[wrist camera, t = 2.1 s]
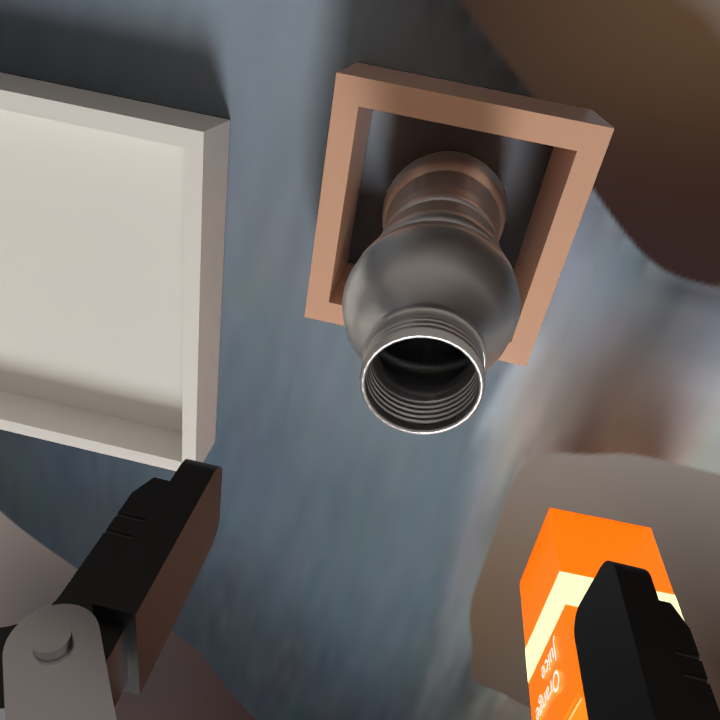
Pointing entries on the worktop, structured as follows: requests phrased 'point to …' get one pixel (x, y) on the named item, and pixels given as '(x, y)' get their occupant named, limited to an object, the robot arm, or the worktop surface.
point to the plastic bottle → (433, 295)
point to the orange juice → (573, 600)
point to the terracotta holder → (471, 111)
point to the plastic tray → (110, 271)
